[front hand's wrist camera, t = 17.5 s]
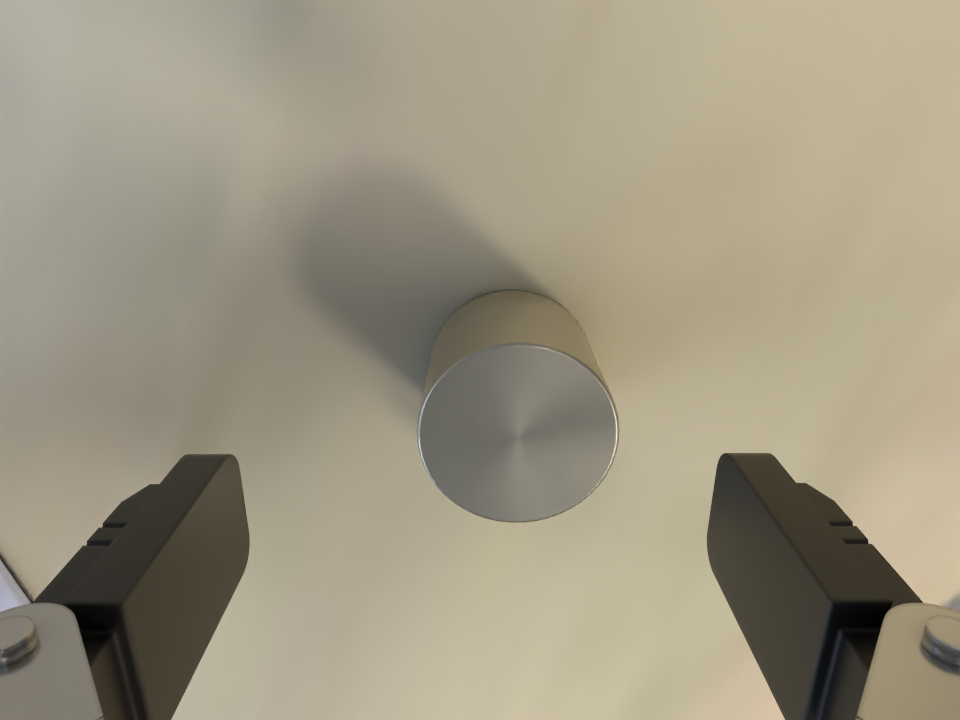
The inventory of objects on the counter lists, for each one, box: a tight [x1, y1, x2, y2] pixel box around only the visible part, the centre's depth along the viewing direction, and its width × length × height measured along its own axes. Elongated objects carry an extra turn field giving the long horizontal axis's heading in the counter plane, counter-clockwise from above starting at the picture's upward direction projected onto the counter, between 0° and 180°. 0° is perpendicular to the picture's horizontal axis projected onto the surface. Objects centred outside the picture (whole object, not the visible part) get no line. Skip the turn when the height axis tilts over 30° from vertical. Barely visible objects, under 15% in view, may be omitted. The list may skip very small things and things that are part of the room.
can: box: [417, 290, 619, 522], centre depth 18 cm, size 5×5×4 cm
